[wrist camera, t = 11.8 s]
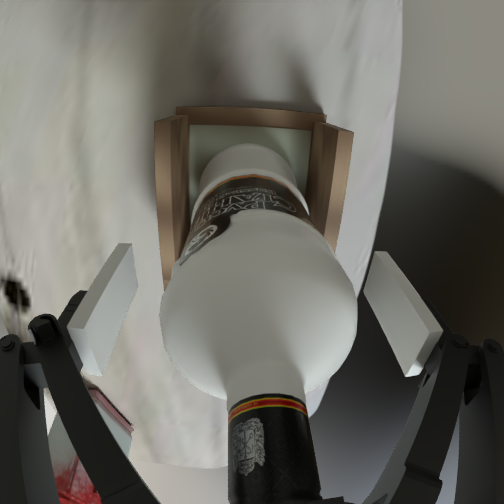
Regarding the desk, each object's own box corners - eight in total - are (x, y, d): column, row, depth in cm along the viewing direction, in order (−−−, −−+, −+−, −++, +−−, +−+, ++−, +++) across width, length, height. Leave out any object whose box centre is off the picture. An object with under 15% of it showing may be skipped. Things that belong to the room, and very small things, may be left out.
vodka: (231, 244, 34) (227, 575, 7) (182, 172, 30) (13, 520, 3) (309, 203, 32) (459, 523, 5) (265, 124, 28) (516, 484, 1)
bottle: (139, 427, 54) (118, 556, 27) (101, 426, 55) (74, 543, 28) (102, 385, 47) (60, 536, 21) (62, 386, 48) (17, 517, 21)
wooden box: (178, 106, 28) (154, 111, 20) (324, 114, 28) (355, 122, 21) (180, 251, 35) (165, 298, 27) (306, 255, 36) (324, 302, 28)
